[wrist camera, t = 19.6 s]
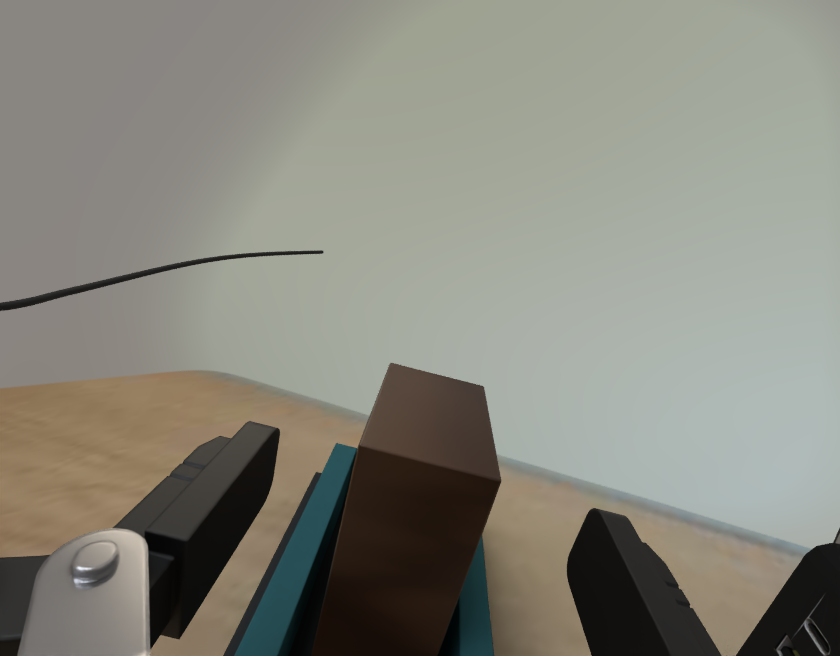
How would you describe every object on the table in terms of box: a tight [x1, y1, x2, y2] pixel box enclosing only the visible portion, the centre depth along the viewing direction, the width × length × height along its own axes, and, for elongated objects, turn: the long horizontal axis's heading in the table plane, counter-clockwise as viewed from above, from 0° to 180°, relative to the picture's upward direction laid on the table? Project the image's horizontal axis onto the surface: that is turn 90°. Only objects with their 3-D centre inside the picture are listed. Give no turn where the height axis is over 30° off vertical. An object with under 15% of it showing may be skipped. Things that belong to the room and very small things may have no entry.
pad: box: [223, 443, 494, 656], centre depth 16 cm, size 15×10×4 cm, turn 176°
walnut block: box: [311, 363, 501, 656], centre depth 15 cm, size 4×6×10 cm, turn 176°
